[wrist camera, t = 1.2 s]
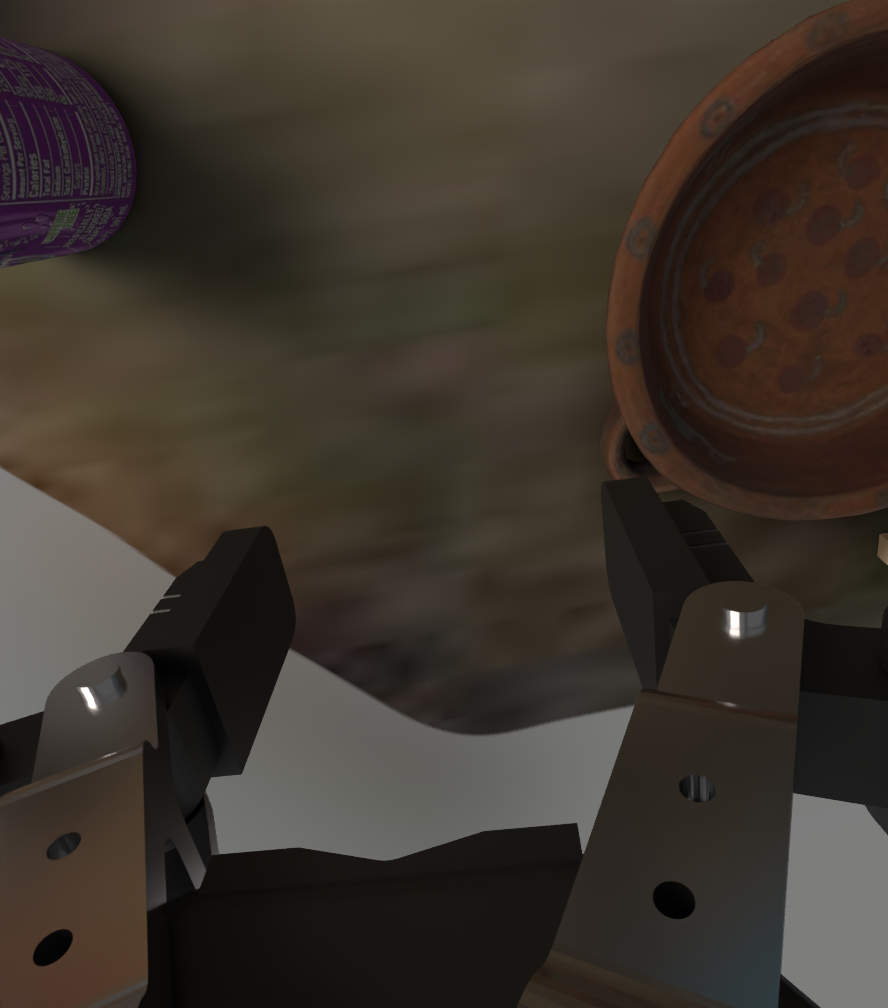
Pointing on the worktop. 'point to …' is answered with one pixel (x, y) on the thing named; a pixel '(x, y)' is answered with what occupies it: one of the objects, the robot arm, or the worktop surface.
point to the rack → (883, 547)
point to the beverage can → (58, 158)
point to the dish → (764, 285)
